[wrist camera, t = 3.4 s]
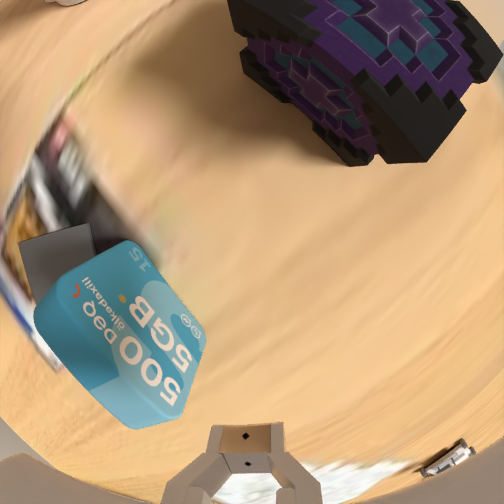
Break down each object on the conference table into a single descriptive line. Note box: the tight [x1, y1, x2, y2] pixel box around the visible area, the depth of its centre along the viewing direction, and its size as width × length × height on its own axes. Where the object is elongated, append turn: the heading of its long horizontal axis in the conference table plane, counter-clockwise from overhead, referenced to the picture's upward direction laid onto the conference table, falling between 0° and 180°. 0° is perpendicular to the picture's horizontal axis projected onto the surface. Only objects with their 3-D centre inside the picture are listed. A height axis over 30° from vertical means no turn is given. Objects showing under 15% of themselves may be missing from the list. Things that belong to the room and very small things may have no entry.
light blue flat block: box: [33, 240, 206, 429], centre depth 19 cm, size 12×4×12 cm, turn 34°
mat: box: [18, 223, 97, 304], centre depth 26 cm, size 17×13×1 cm
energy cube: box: [227, 0, 503, 167], centre depth 13 cm, size 12×12×12 cm
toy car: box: [420, 438, 476, 477], centre depth 30 cm, size 18×10×12 cm
